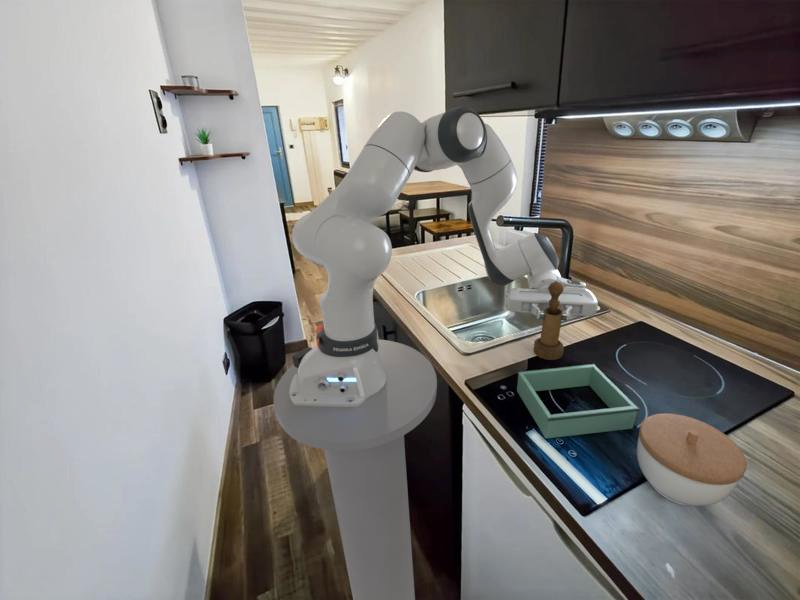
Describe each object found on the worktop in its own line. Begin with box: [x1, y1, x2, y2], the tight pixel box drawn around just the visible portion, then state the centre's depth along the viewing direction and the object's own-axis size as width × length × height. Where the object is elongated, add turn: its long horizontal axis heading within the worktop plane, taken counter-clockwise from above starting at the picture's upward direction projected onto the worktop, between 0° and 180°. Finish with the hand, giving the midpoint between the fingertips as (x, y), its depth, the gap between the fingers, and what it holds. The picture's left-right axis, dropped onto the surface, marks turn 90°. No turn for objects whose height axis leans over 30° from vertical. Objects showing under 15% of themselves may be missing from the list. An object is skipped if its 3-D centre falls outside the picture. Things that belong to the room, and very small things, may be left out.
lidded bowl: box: [636, 412, 748, 507], centre depth 55 cm, size 13×13×11 cm
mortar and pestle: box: [533, 282, 565, 361], centre depth 83 cm, size 7×6×18 cm
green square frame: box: [516, 363, 640, 439], centre depth 73 cm, size 17×14×5 cm
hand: (553, 317), depth 82 cm, fingers closed on mortar and pestle, 4 cm apart
